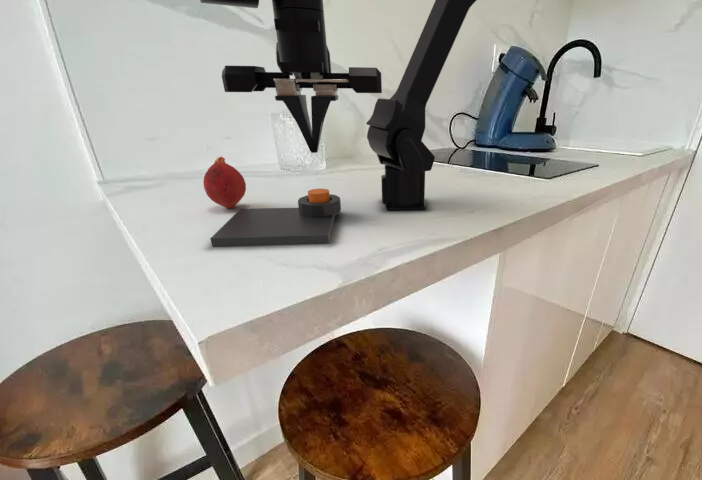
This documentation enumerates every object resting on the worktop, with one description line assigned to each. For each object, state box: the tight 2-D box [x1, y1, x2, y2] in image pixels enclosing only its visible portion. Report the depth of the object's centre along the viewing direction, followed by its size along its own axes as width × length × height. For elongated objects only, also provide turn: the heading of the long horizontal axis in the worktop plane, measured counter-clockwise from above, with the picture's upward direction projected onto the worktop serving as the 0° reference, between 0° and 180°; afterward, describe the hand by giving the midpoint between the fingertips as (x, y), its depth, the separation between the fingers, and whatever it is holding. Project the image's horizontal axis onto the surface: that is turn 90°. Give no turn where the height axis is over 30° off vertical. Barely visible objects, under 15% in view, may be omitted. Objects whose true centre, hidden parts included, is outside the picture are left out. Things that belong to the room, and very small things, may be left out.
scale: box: [209, 193, 342, 248], centre depth 50 cm, size 15×13×3 cm
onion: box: [202, 156, 247, 210], centre depth 56 cm, size 6×6×8 cm
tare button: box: [307, 188, 330, 203], centre depth 53 cm, size 3×3×2 cm
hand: (314, 152), depth 50 cm, fingers closed
